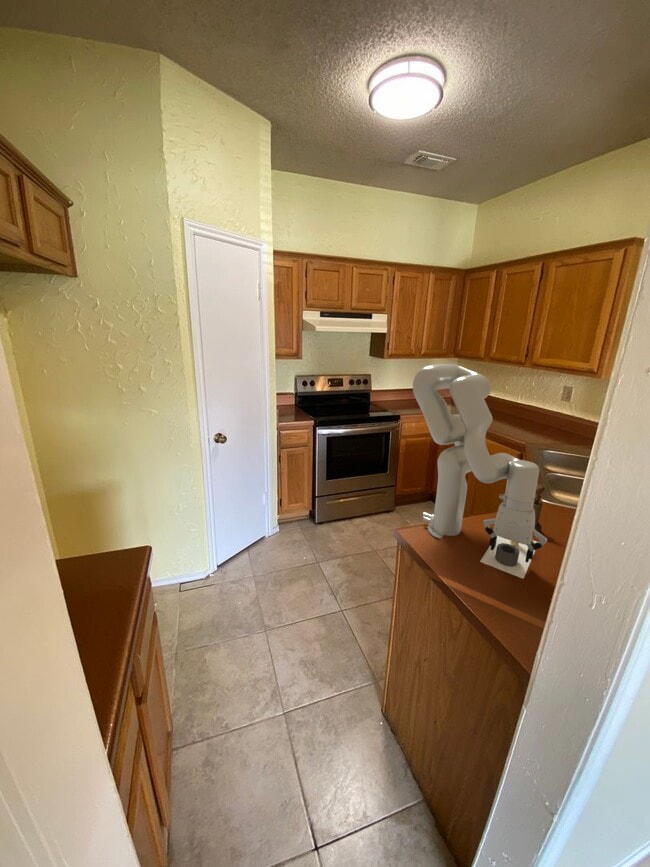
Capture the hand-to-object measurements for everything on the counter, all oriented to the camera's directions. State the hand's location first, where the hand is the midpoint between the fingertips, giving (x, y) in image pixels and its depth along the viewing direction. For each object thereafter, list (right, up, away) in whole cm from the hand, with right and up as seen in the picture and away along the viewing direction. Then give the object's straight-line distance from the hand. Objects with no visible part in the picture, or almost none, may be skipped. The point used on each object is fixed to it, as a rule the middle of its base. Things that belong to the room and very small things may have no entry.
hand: (509, 554), depth 110 cm
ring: (0, -2, +1) cm, 3 cm away
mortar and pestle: (+19, +1, +22) cm, 29 cm away
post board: (+3, -2, +6) cm, 7 cm away
